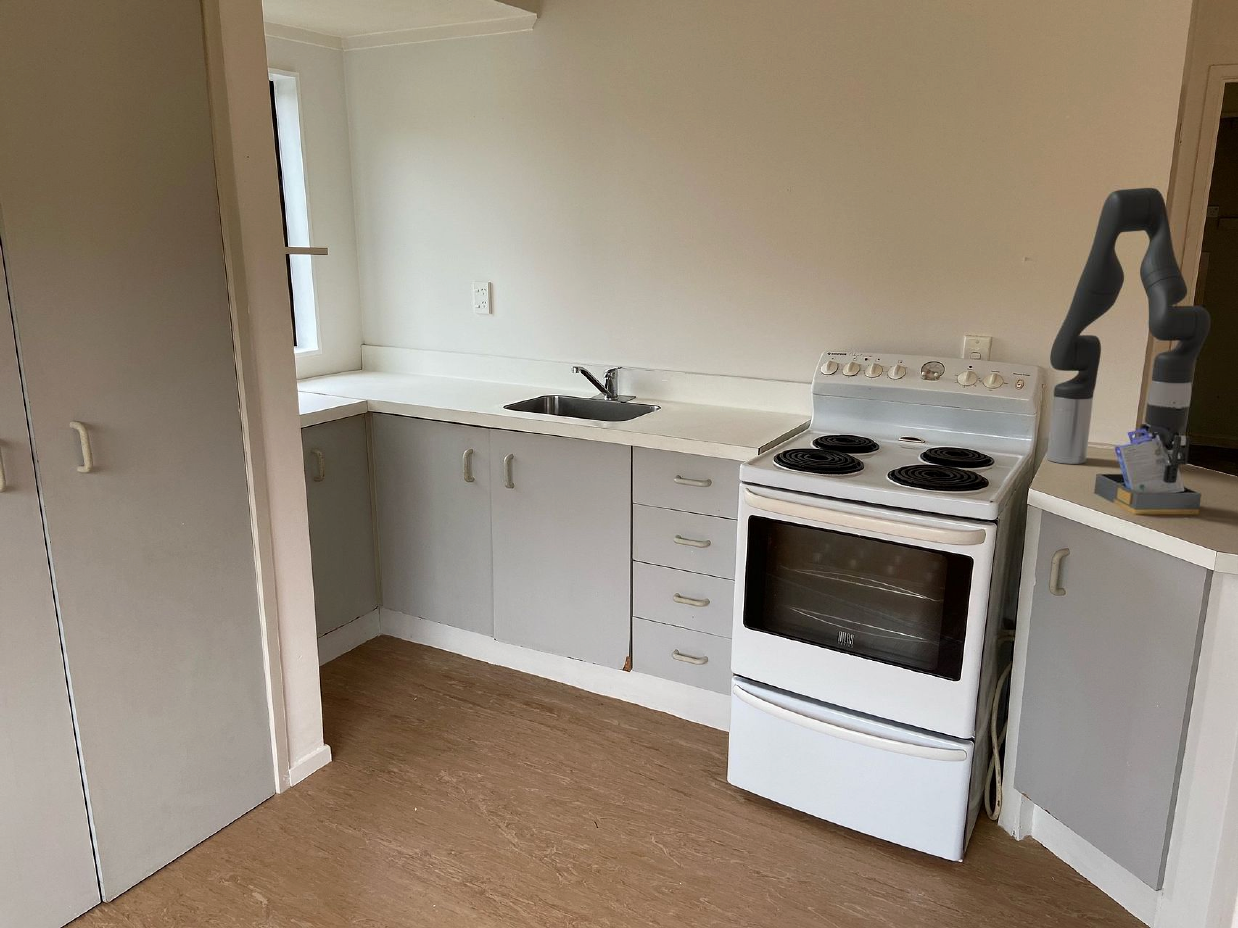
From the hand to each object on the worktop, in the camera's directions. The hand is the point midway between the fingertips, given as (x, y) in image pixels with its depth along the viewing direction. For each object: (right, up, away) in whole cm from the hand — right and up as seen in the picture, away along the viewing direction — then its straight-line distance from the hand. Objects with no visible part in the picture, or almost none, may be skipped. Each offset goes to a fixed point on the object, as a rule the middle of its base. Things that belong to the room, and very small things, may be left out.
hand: (1157, 477), depth 181 cm
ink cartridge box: (0, -4, 0) cm, 4 cm away
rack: (0, -6, +5) cm, 8 cm away
